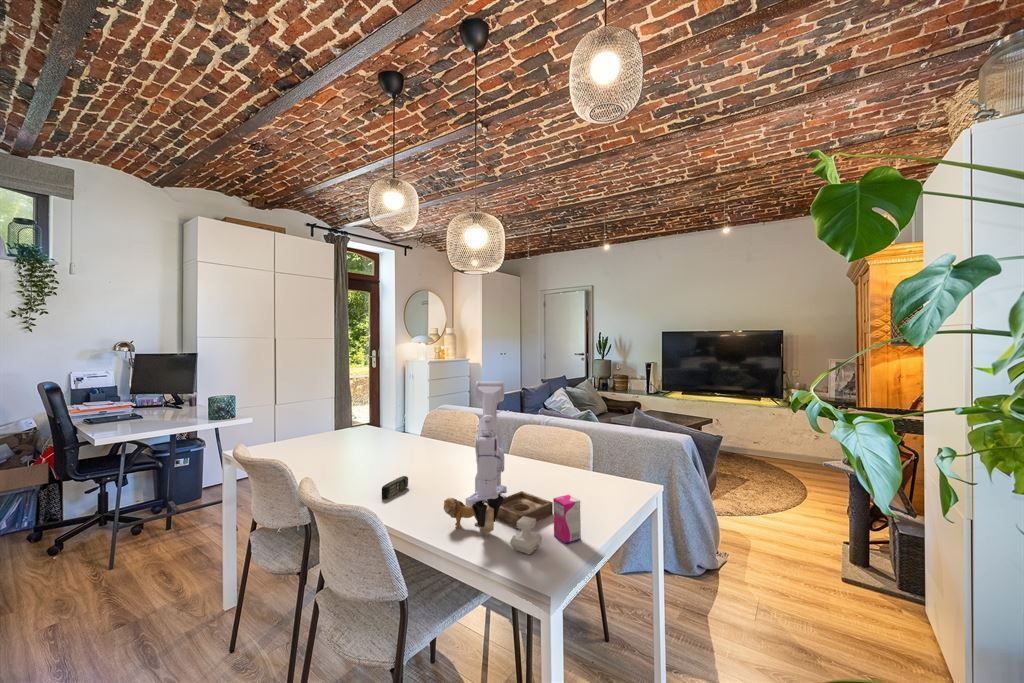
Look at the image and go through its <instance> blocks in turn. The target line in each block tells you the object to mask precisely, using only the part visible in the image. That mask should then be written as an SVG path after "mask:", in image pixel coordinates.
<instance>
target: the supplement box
mask: <svg viewBox="0 0 1024 683" xmlns="http://www.w3.org/2000/svg"><path fill="white" fill-rule="evenodd" d="M552 499H553V536H554V538H556V540H558V541H560V542H561V543H562V544H564V545H568V544H572V543H577V542H578V541H581V540H582V530H581V528H582V526H581V524H582V523H581V521H582V519H581V500H580V499H578V498H576V497H574V496H573V495H571V494H565V495H561V496H557V497H553V498H552Z"/></svg>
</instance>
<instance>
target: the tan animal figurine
mask: <svg viewBox="0 0 1024 683" xmlns="http://www.w3.org/2000/svg"><path fill="white" fill-rule="evenodd" d="M443 502H444V503H443V510H444V512H445V514H447V515H449V517H450V518H452V519H455V521H456V522H455V529H456V530H459V529H461V519H470V518H473V517H474V518H475V520H476V521H477V519H476V515H475V513H474V510H473V508H472V507H469V506H467V505H466V504H465V503H463V502H462V501H460V500H458V499H457V498H454V497H448V498H446V499H444V501H443ZM474 526H479V525H478V523H477V522H475V523H474Z"/></svg>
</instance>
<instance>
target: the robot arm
mask: <svg viewBox="0 0 1024 683" xmlns="http://www.w3.org/2000/svg"><path fill="white" fill-rule="evenodd" d="M474 393H475V394H474V395H475V398H476V400H477V401H478V402H480V403H482V416H481V417H480V418H479V420H478V427H477V428H478V429H477V430H478V431H477V438H476V439H475V444H474V445H475V448H474V449H475V450H474V451H475V452H474V453H475V458H476V460H475V462H476V474H475V478H474V493H472V494H471V495H470V496H468V497H466V498H465V505H466V506H469V507H472V508H473V510H474V513H475V515H476V519H477V520H476V519H475V520H476V521H477V522H476V523H478V525H477V526H479V527H480V526H481V527H484V525H485V513H486V509H487V506H491V507H493V508H494V523H495V522H496V521H497V519H496V518H497V514H498V511H499V508H500V506H501V504H502V502H503V498H505V497H507V495H506V494H507V493H508V492H507V491H508V490H507V489H508V488H507V486H505V485H503V484H502V473H504V472H505V451H504V449H503V448H501V447H499V437H498V420H497V419H498V418H497V416H498V414H497V413H498V412H497V409H498V408H497V406H498V405H499V403H501V402H503V401H504V399H505V382H504V381H503V380H501V381H500V380H499V381H498V380H497V381H495V380H494V381H491V380H487V381H485V380H483V381H481V380H477V381H476V382H475V392H474ZM485 502H487V504H485Z"/></svg>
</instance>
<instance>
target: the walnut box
mask: <svg viewBox="0 0 1024 683" xmlns="http://www.w3.org/2000/svg"><path fill="white" fill-rule="evenodd" d="M552 515H553V516H554V502H552V501H550V500H547V499H544V498H542V497H538V496H536V495H533V494H531V493H527V492H525V491H518V492H516V493H513V494H510V495H508V496H506V497H505V498H503V502H502V504H501V506H500V508H499V511H498V514H497V518H496V520H499V521H501V522H503V523H504V524H508V525H510V526H512V527H515V528H517V529H518V526H517V521H518V520H519V519H521V518H522V517H523V516H525V517H530V518H534V519H536V523H538V522H540V521H542V520H544V519H546V518H549V517H551V516H552Z"/></svg>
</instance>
